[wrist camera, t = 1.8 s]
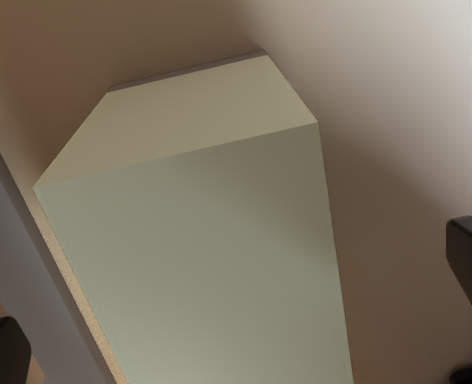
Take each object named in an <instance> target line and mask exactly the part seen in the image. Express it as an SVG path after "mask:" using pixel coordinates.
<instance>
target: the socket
mask: <svg viewBox="0 0 472 384" xmlns="http://www.w3.org/2000/svg"><path fill="white" fill-rule="evenodd" d="M4 316H12V317H14V318H15V319H16V320H17V322H18V323H19V325H20V327H21V328H22V330H23V332H24V333H25V335H26V337H27V338H28V340H29V342H30V344H31V348H32V356H31V361H30V366H29V372H28V377H27V382H26V384H117V383H116V381H115V379H114V377H113V375H112V373H111V372H110V370H109V368H108V366H107V364H106V362H105V360H104V358H103V356H102V354H101V352H100V350H99V348H98V346H97V344H96V342H95V340H94V338H93V336H92V334H91V332H90V330H89V328H88V326H87V324H86V322H85V320H84V318H83V316H82V314H81V312H80V310H79V308H78V306H77V304H76V302H75V300H74V298H73V296H72V294H71V292H70V290H69V288H68V286H67V284H66V282H65V281H64V279H63V277H62V275H61V273H60V271H59V269H58V267H57V265H56V263H55V261H54V259H53V257H52V255H51V253H50V251H49V249H48V247H47V245H46V243H45V241H44V239H43V237H42V235H41V233H40V231H39V229H38V227H37V225H36V223H35V221H34V219H33V217H32V215H31V213H30V211H29V209H28V207H27V205H26V203H25V201H24V199H23V197H22V195H21V193H20V191H19V190H18V188H17V186H16V184H15V182H14V180H13V178H12V176H11V174H10V172H9V170H8V168H7V166H6V164H5V162H4V160H3V158H2V156H1V154H0V317H4Z"/></svg>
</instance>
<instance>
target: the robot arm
mask: <svg viewBox="0 0 472 384" xmlns="http://www.w3.org/2000/svg"><path fill="white" fill-rule="evenodd" d="M446 257H447V261H448V263H449V266H450V267H451V269H452V271H453V273H454V275H455V276H456V278H457V280H458V282H459V283H460V285H461V287H462V289H463V291H464V292H465V294H466V296H467V298H468V299H469V301H470V303H471V305H472V216H463V217H458V218H454V219H450V220H449V221H448V222H447V225H446ZM31 356H32V348H31V344H30V342H29V340H28V338H27V337H26V335H25V333H24V332H23V330H22V328H21V327H20V325H19V323H18V322H17V320H16V319H15V318H14V317H12V316H4V317H0V384H26V382H27V377H28V372H29V366H30V361H31ZM449 384H472V368H468V369H463V370H460V371H457V372H456V373H454V374H453V375H452V376H451V377H450V380H449Z"/></svg>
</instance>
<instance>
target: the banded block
mask: <svg viewBox="0 0 472 384" xmlns="http://www.w3.org/2000/svg"><path fill="white" fill-rule="evenodd" d="M32 188H33V191H34V193H35V195H36V197H37V199H38V201H39V203H40V205H41V207H42V209H43V211H44V213H45V215H46V217H47V219H48V221H49V223H50V225H51V227H52V229H53V231H54V233H55V236H56V238H57V240H58V242H59V244H60V246H61V248H62V250H63V252H64V254H65V256H66V258H67V260H68V262H69V264H70V266H71V268H72V270H73V272H74V274H75V276H76V279H77V281H78V283H79V285H80V287H81V289H82V291H83V293H84V295H85V297H86V299H87V301H88V303H89V305H90V307H91V309H92V311H93V313H94V315H95V317H96V319H97V321H98V324H99V326H100V328H101V330H102V332H103V334H104V336H105V338H106V340H107V342H108V344H109V346H110V348H111V350H112V352H113V354H114V356H115V358H116V360H117V362H118V364H119V367H120V369H121V371H122V373H123V375H124V377H125V379H126V381H127V383H128V384H354V381H353V374H352V367H351V359H350V352H349V345H348V337H347V330H346V322H345V315H344V308H343V300H342V293H341V286H340V278H339V271H338V263H337V256H336V249H335V241H334V234H333V227H332V219H331V212H330V204H329V197H328V190H327V182H326V175H325V168H324V160H323V153H322V145H321V138H320V131H319V123H318V121H317V119H316V118H315V117H314V116H313V114H312V113H311V112H310V110H309V109H308V108H307V106H306V105H305V104H304V102H303V101H302V100H301V98H300V97H299V96H298V94H297V93H296V92H295V90H294V89H293V88H292V87H291V85H290V84H289V83H288V81H287V80H286V79H285V77H284V76H283V75H282V73H281V72H280V71H279V69H278V68H277V67H276V65H275V64H274V63H273V61H272V60H271V59H270V57H269V56H268V55H267V54H266V52H265V51H264V50H260V51H256V52H252V53H248V54H243V55H239V56H235V57H231V58H227V59H222V60H218V61H214V62H210V63H206V64H201V65H197V66H193V67H189V68H185V69H180V70H176V71H172V72H168V73H164V74H159V75H155V76H151V77H147V78H143V79H138V80H134V81H130V82H126V83H122V84H117V85H113V86H111V88H110V89H109V90H108V92H107V93H106V94H105V95H104V97H103V98H102V99H101V101H100V102H99V103H98V104H97V106H96V107H95V108H94V109H93V111H92V112H91V113H90V115H89V116H88V117H87V118H86V120H85V121H84V122H83V123H82V125H81V126H80V127H79V129H78V130H77V131H76V132H75V134H74V135H73V136H72V137H71V139H70V140H69V141H68V143H67V144H66V145H65V146H64V148H63V149H62V150H61V152H60V153H59V154H58V155H57V157H56V158H55V159H54V160H53V162H52V163H51V164H50V166H49V167H48V168H47V169H46V171H45V172H44V173H43V174H42V176H41V177H40V178H39V180H38V181H37V182H36V183H35V185H34V186H33V187H32Z"/></svg>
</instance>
